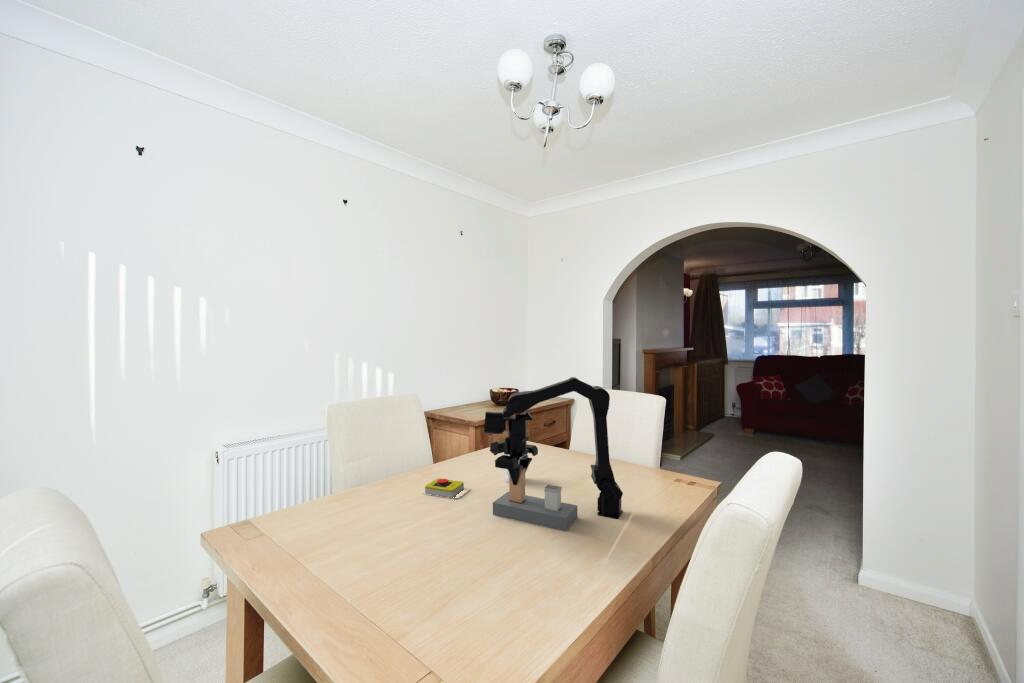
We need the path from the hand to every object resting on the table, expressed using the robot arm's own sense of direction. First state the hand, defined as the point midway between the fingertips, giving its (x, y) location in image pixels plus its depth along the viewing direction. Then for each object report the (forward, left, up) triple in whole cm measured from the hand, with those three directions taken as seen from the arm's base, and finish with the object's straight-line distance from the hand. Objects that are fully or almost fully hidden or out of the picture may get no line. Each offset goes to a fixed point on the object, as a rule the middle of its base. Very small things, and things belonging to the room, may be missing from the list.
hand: (517, 483), depth 136 cm
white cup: (+14, -25, -10) cm, 30 cm away
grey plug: (-12, 0, -9) cm, 15 cm away
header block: (-6, 0, -9) cm, 11 cm away
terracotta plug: (0, 0, -5) cm, 5 cm away
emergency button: (+31, -4, -10) cm, 32 cm away
